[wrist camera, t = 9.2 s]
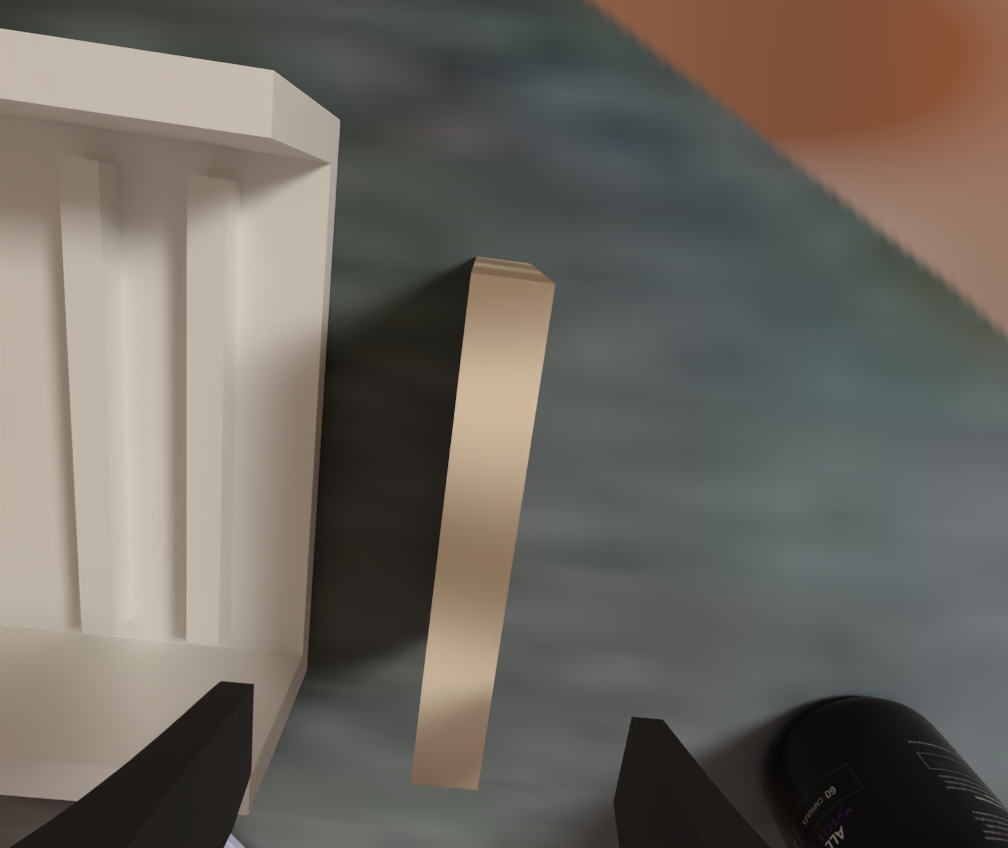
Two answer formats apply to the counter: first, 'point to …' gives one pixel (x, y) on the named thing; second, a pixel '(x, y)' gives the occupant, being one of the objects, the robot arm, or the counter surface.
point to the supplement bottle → (877, 783)
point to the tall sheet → (480, 515)
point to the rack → (154, 398)
